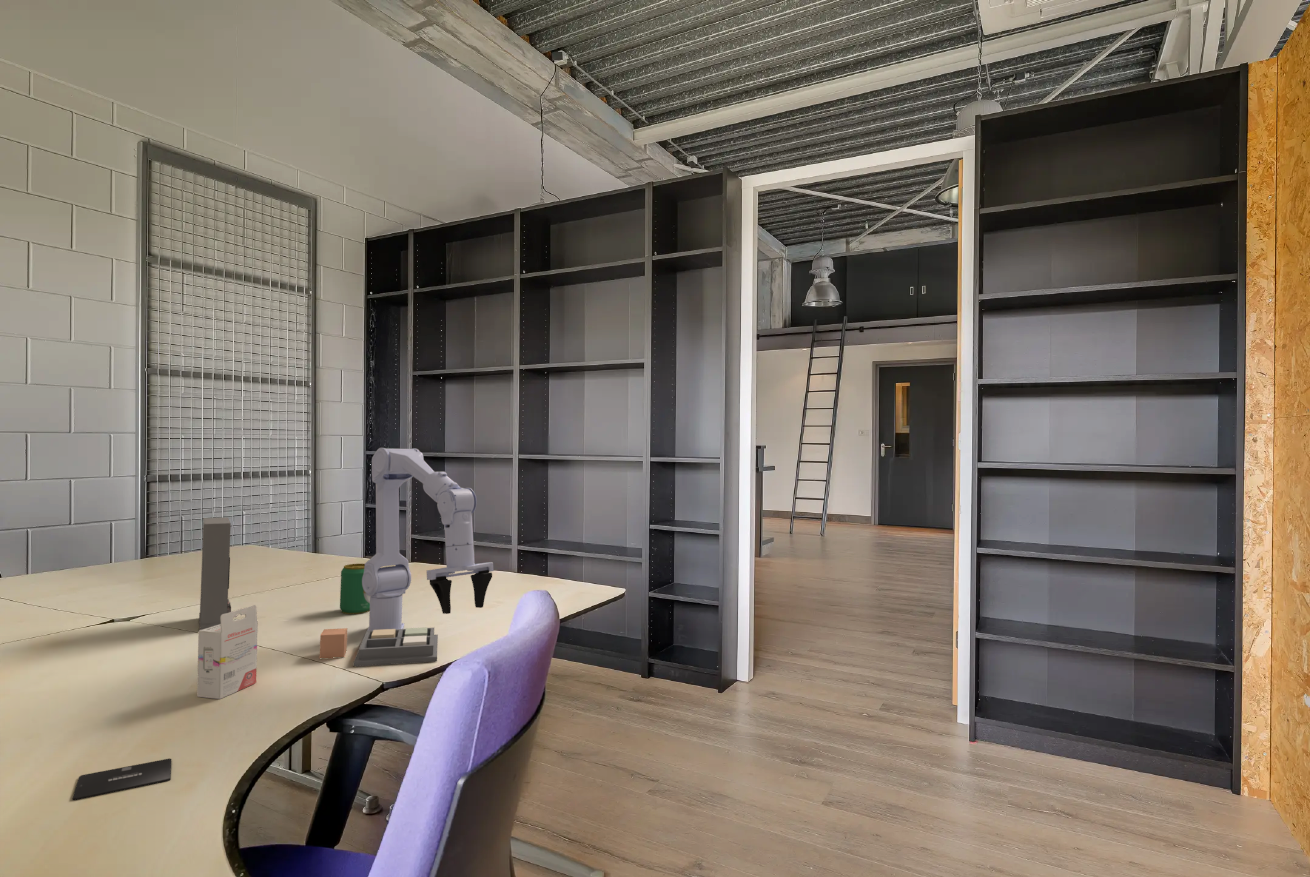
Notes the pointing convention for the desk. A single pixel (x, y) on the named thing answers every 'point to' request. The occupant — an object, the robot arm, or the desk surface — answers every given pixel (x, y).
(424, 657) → the frame board
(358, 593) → the beverage can
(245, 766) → the desk surface
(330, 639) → the terracotta block
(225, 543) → the tall grey upright panel
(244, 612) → the ink cartridge box
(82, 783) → the solid state drive
